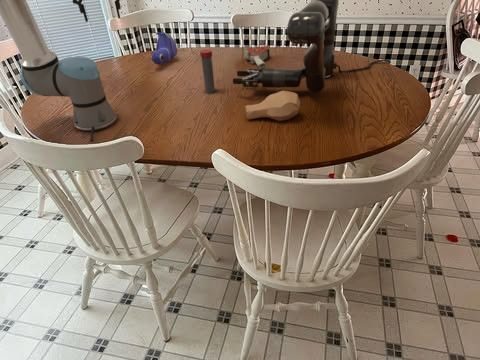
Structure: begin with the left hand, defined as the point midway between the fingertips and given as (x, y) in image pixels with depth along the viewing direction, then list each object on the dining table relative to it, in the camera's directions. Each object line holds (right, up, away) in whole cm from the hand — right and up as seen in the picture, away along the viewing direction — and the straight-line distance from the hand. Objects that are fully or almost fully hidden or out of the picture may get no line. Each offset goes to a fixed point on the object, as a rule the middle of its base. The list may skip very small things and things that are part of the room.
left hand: (103, 19), depth 154 cm
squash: (+71, -47, -25) cm, 89 cm away
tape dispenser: (+68, -10, +26) cm, 73 cm away
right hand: (+57, -27, -8) cm, 64 cm away
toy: (+20, -9, +31) cm, 38 cm away
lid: (+46, -18, -11) cm, 50 cm away
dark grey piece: (+47, -32, -2) cm, 56 cm away
